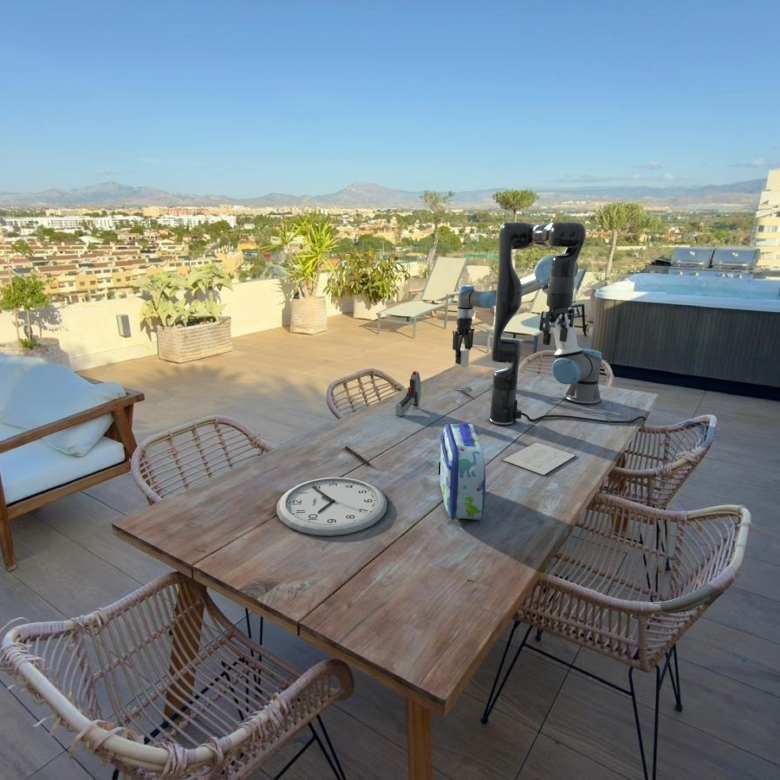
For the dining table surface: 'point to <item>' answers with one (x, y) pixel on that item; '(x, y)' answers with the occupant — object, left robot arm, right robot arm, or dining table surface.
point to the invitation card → (539, 458)
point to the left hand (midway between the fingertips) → (554, 343)
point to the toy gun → (410, 395)
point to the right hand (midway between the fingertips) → (461, 362)
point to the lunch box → (462, 472)
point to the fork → (460, 389)
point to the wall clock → (331, 506)
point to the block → (463, 358)
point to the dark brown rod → (357, 455)
